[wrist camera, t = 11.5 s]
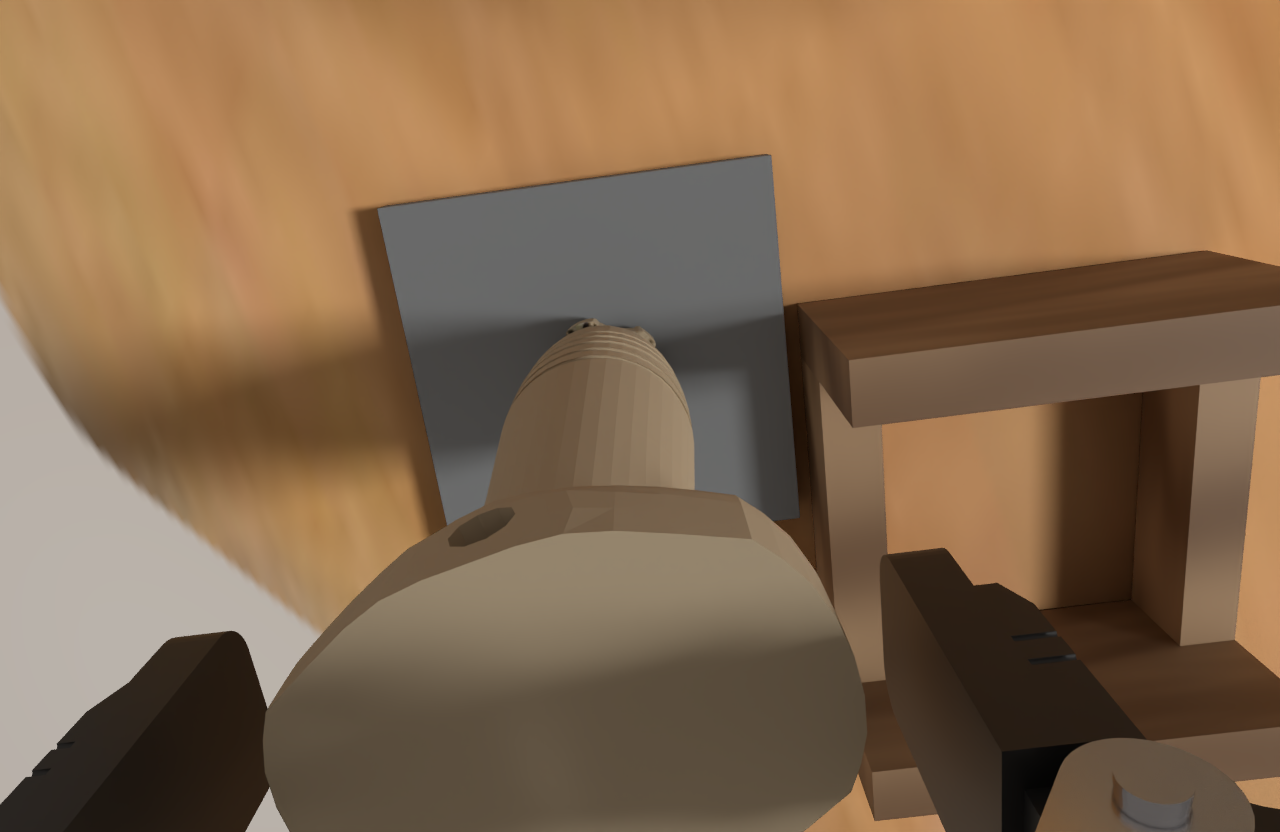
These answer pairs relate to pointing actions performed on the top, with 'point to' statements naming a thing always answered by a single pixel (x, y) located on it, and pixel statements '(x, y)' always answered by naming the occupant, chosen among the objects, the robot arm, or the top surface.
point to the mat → (602, 311)
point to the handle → (579, 643)
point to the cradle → (1167, 480)
